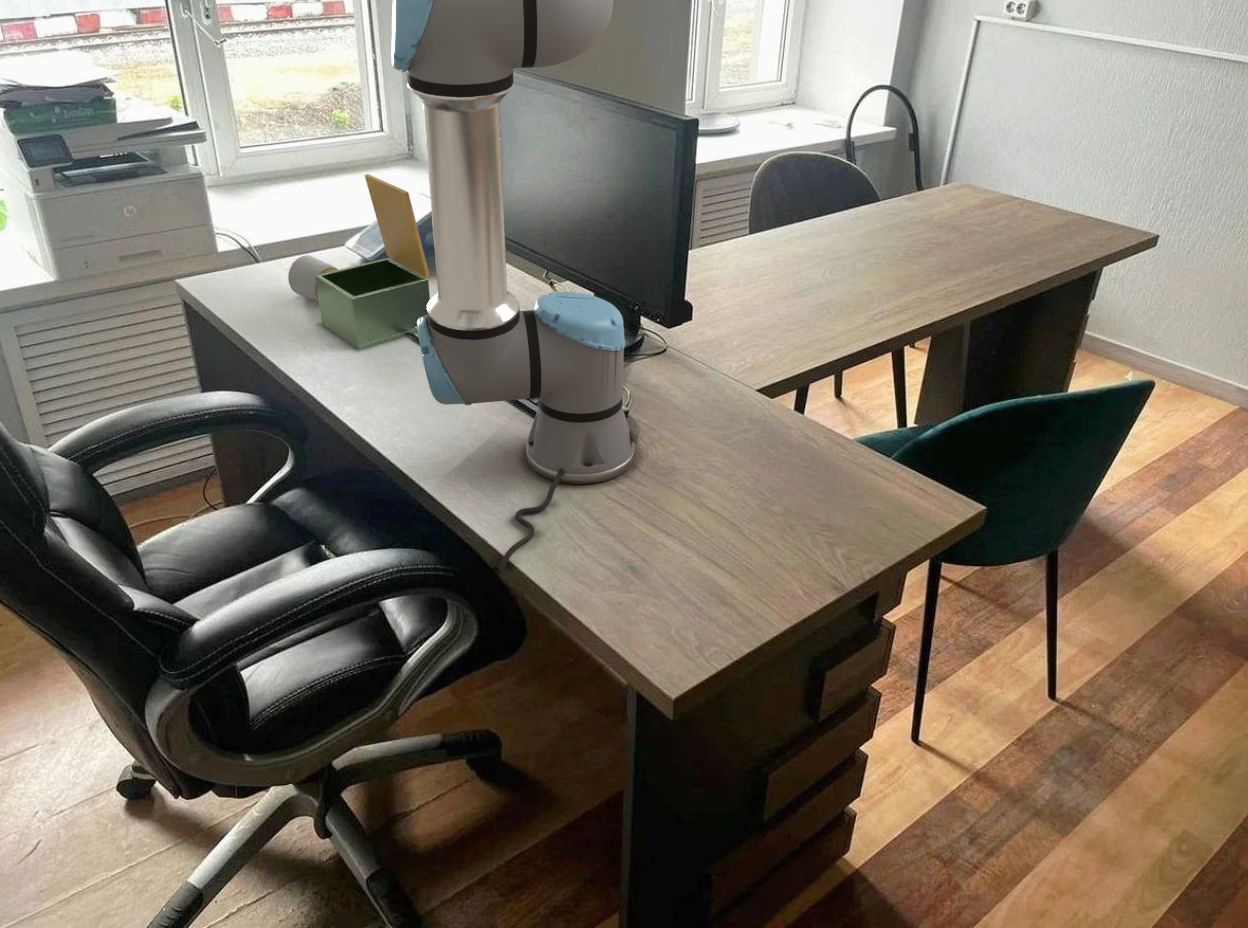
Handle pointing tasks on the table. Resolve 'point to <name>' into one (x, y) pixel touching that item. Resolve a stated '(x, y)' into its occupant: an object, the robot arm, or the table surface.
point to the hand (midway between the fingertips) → (452, 183)
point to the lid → (397, 224)
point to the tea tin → (372, 302)
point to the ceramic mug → (307, 275)
